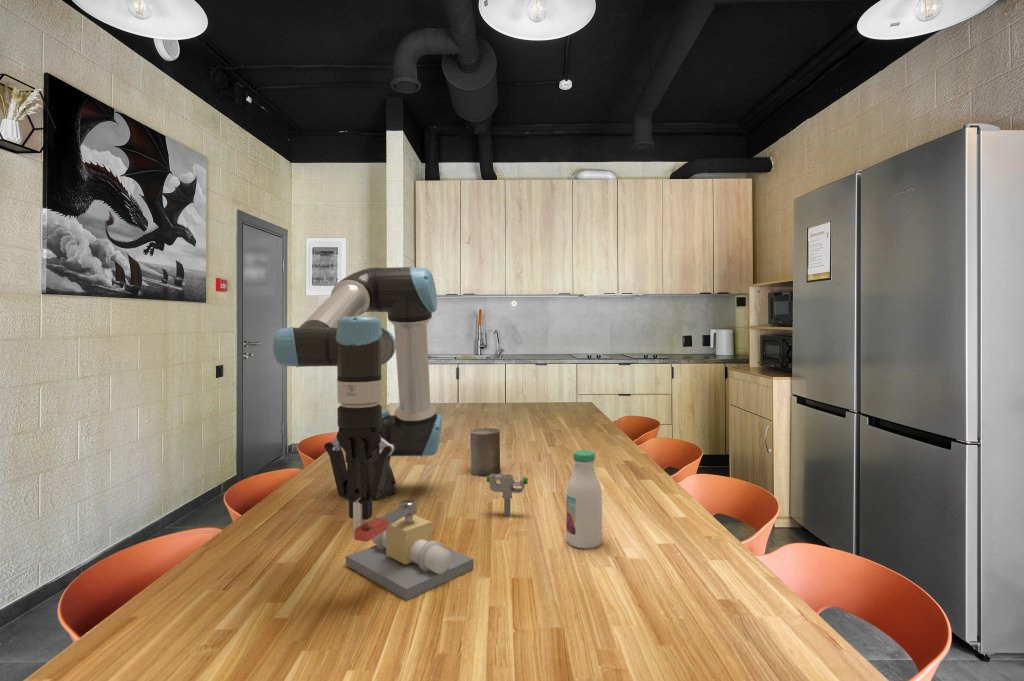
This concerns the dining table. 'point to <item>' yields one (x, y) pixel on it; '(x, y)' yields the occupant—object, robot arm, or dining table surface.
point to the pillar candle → (485, 451)
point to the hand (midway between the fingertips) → (360, 536)
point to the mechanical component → (506, 487)
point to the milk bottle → (584, 503)
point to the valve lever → (384, 521)
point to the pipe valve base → (409, 559)
